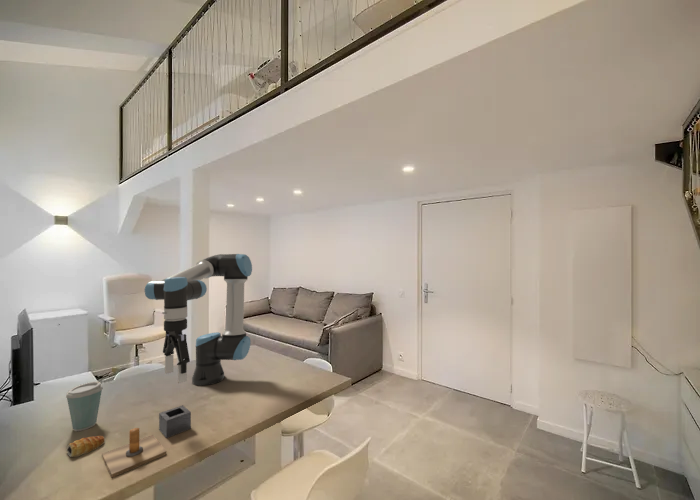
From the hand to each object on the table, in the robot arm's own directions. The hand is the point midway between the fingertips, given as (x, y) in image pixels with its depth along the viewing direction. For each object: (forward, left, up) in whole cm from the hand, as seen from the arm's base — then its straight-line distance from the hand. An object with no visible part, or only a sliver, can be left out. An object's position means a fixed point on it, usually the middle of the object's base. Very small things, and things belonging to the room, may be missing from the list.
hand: (175, 377), depth 113 cm
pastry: (-10, -24, -19) cm, 32 cm away
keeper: (+7, -14, -19) cm, 24 cm away
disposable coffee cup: (-28, -22, -19) cm, 40 cm away
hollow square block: (0, 0, -19) cm, 19 cm away
